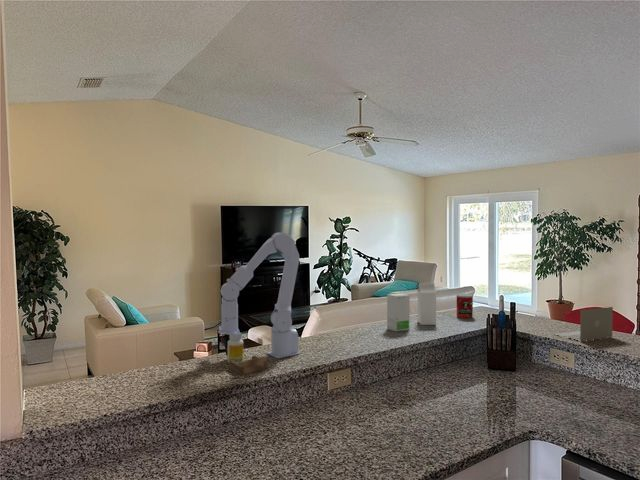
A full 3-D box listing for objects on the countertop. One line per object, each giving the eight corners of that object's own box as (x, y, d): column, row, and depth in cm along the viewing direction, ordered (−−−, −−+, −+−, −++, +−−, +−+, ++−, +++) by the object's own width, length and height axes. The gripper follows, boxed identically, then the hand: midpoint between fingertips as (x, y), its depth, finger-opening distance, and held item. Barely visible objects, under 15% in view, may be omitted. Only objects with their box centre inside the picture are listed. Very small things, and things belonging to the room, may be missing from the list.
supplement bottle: (224, 360, 155) (224, 333, 154) (238, 357, 159) (238, 330, 158) (232, 365, 151) (232, 337, 150) (246, 361, 155) (246, 334, 154)
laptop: (584, 331, 195) (585, 301, 194) (612, 338, 183) (613, 306, 182) (553, 335, 188) (554, 304, 188) (580, 343, 176) (581, 310, 176)
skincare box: (395, 332, 195) (395, 296, 194) (385, 329, 201) (385, 294, 200) (410, 329, 199) (410, 294, 198) (400, 326, 205) (400, 292, 204)
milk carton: (436, 325, 207) (436, 284, 207) (420, 325, 208) (420, 284, 207) (432, 321, 215) (432, 282, 214) (417, 321, 215) (417, 282, 214)
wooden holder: (255, 363, 153) (254, 351, 153) (267, 369, 147) (266, 357, 147) (229, 368, 148) (229, 356, 148) (240, 375, 141) (240, 362, 141)
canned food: (457, 318, 221) (457, 296, 221) (455, 315, 229) (455, 293, 229) (473, 318, 220) (474, 296, 220) (471, 315, 228) (471, 293, 228)
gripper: (210, 315, 161) (210, 352, 162) (227, 322, 149) (227, 362, 150) (228, 312, 165) (229, 349, 166) (246, 319, 153) (247, 359, 154)
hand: (229, 355), depth 158 cm, fingers closed, pressing on supplement bottle
